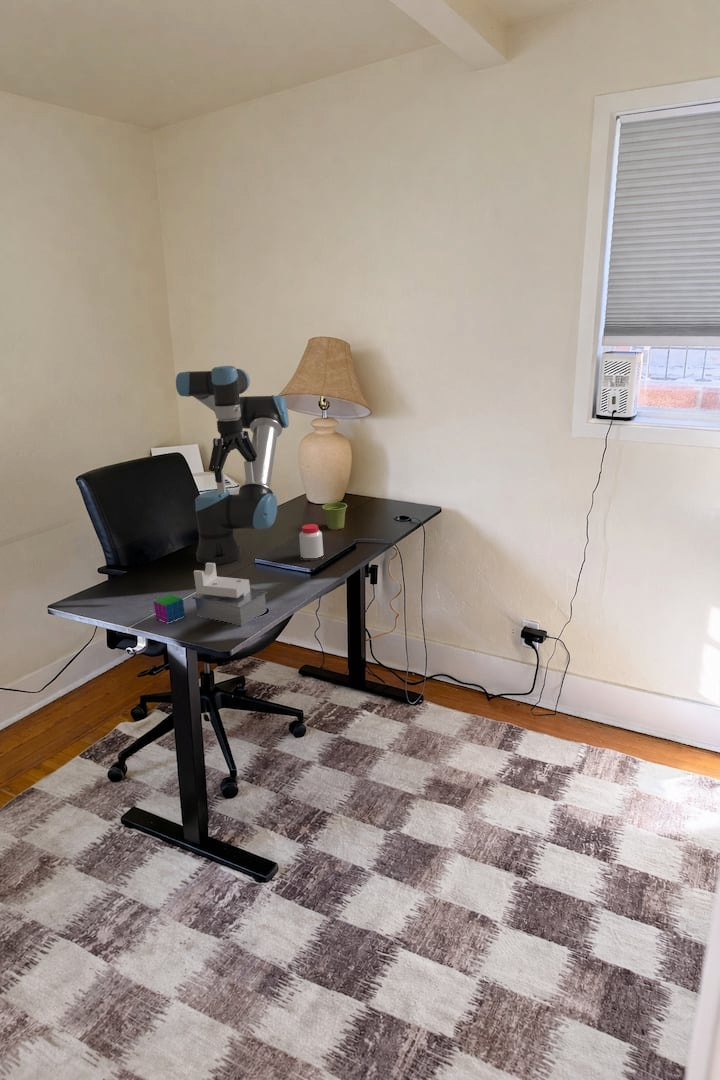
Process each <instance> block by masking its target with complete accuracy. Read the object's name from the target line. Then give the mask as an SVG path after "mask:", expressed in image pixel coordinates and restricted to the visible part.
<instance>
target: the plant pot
mask: <svg viewBox="0 0 720 1080" xmlns="http://www.w3.org/2000/svg"><path fill="white" fill-rule="evenodd" d="M321 508H322V509H323V512H324V516H325V520H326V524H327V525H326V526H327V528H328V529H329V530H331V531H338V530H341V529H344V527H345V520H346V519H345V518H346V517H345V516H346V510H347V508H348V504H346V503H344V502H329V503H326V504H323V505H322V506H321Z"/></svg>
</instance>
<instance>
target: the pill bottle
mask: <svg viewBox="0 0 720 1080" xmlns="http://www.w3.org/2000/svg"><path fill="white" fill-rule="evenodd" d="M298 538H299V552H300V558H301V557H303V558H318V557H321V556H323V555H324V544H323V543H324V542H323V532H322V531H321V530H320V529H319V525H317V524H316V523H308V524H304V525H302V526H301V532H299V534H298Z"/></svg>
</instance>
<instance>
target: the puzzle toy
mask: <svg viewBox="0 0 720 1080" xmlns="http://www.w3.org/2000/svg"><path fill="white" fill-rule="evenodd" d="M153 608H154V613H155V619H156V618H158V619H161V620H163V621H165V622H171V621H173V620H176V619H178V618H181V617H183V616H185V617H186V614H185V606H184V599H183V598H180V597H178V596H175V595H173V594H168V595H166V596H162V597H161V598H158V599H155V600H153Z"/></svg>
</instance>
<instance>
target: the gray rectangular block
mask: <svg viewBox="0 0 720 1080" xmlns="http://www.w3.org/2000/svg"><path fill="white" fill-rule="evenodd" d="M266 594H268V591H266V590H263V589H257V588H252V587H250V592H249V593H247V594H246V595H245V596H239V597H238V598H233V597H224V596H215V595H206V594H197V593H196V594H195V595H193V596H192V600H195V607H196V616H197V615H199V616H202V617H201V618H203V617H206V618H205V619H207V618H210V619H209V620H212V619H215V620H214V621H216V620H219V621H218V622H220V621H224V622H228V623H227V624H229V623H232V624H231V625H233V624H236V625H235V626H237V625H240V626H239V627H243V626H242V625H244V624H245V625H247V624H248V623H250V622H252V621H253V620H254V619H253V618H255V617H256V618H258V617H259V615H260V614H261V615H263V614H264V613H266V612H267V604H266V603H267V601H266ZM262 613H263V614H262ZM261 615H260V616H261ZM199 616H198V617H199ZM257 616H258V617H257ZM256 618H255V619H256ZM252 619H253V620H252ZM251 620H252V621H251ZM249 621H250V622H249ZM224 622H223V623H224ZM246 623H247V624H246ZM245 625H244V626H245Z"/></svg>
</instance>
